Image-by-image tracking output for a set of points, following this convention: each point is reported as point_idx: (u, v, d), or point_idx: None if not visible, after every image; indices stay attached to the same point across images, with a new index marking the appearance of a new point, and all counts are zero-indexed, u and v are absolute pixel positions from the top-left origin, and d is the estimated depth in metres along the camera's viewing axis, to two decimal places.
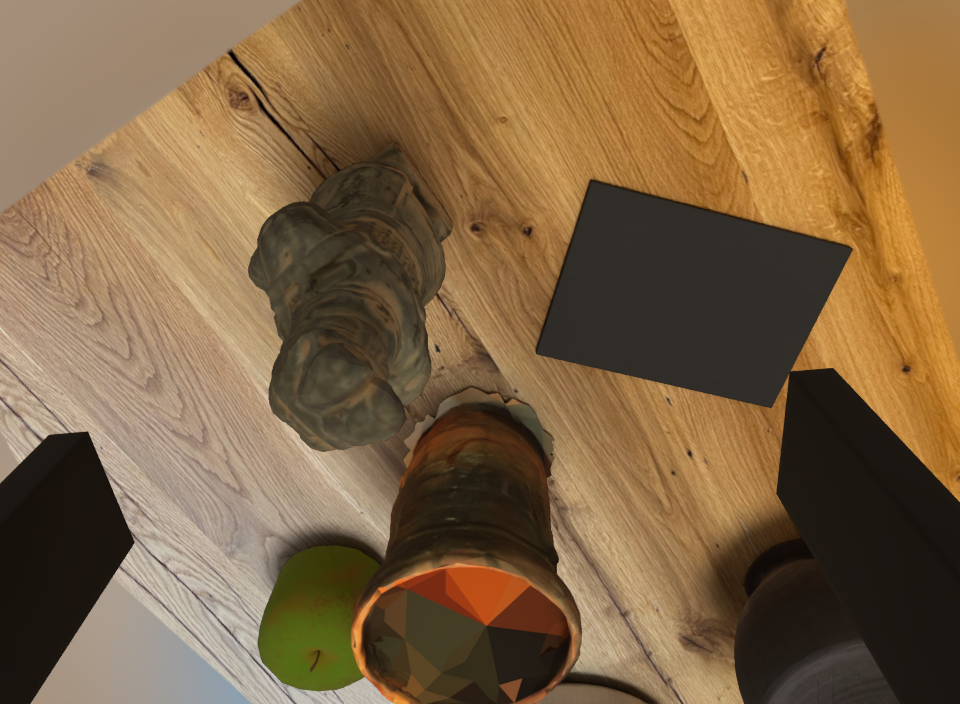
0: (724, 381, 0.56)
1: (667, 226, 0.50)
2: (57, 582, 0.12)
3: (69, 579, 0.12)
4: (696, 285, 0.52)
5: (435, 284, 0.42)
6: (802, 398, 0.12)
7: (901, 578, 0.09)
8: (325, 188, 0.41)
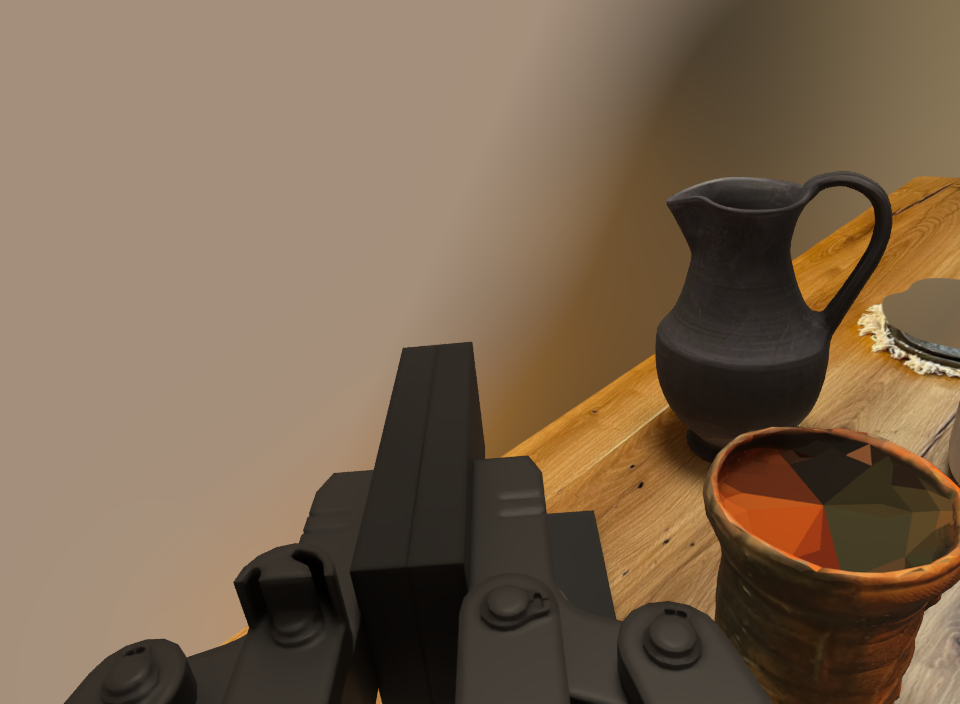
0: (585, 544, 0.66)
1: None
2: None
3: None
4: None
5: None
6: None
7: None
8: None
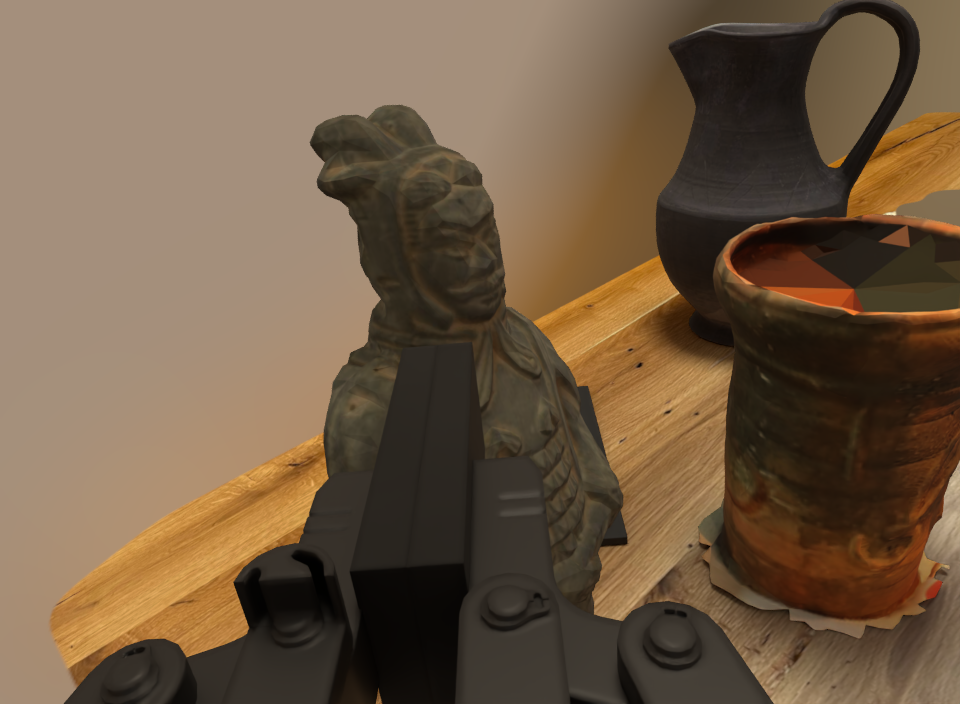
0: None
1: None
2: None
3: None
4: None
5: None
6: None
7: None
8: None
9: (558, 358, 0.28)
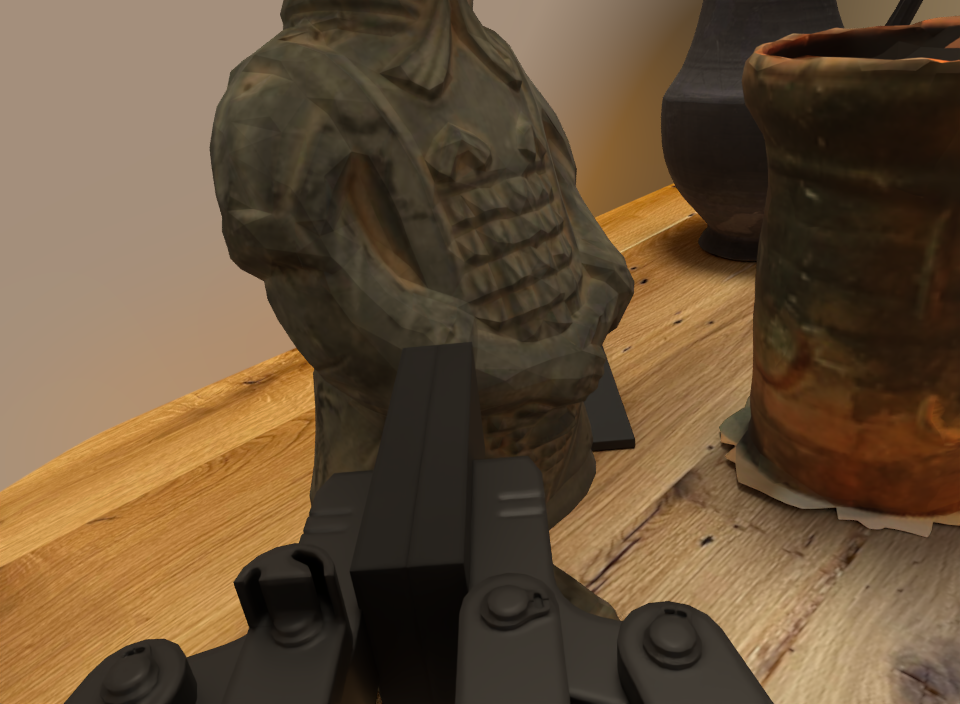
0: None
1: None
2: None
3: None
4: None
5: None
6: None
7: None
8: None
9: (546, 102, 0.21)
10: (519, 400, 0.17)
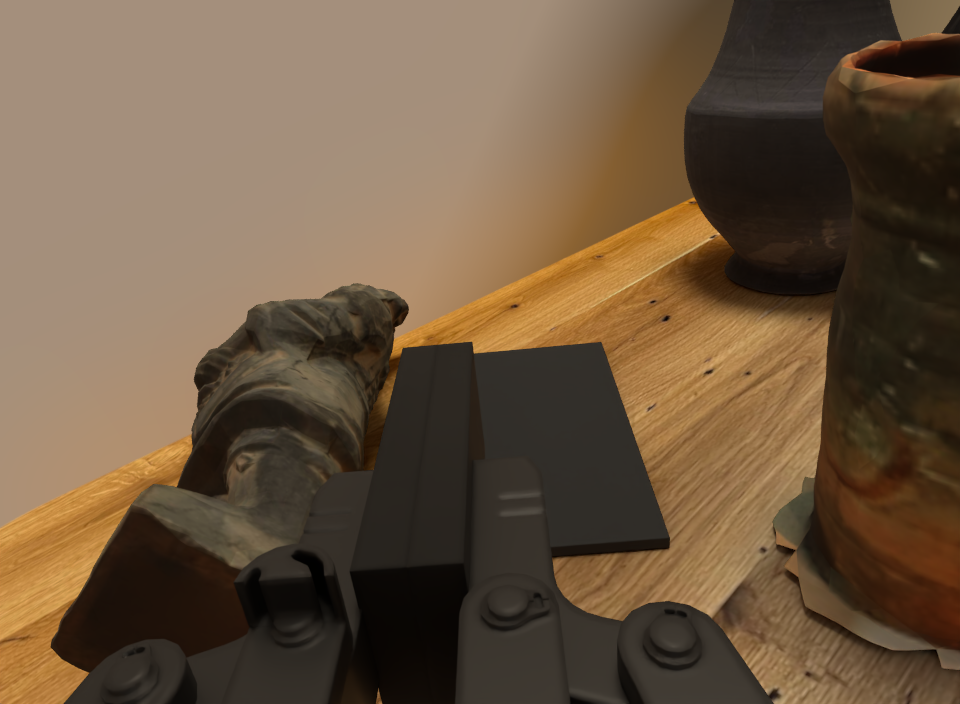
0: (590, 375, 0.45)
1: None
2: None
3: None
4: None
5: (360, 423, 0.32)
6: None
7: None
8: None
9: None
10: None
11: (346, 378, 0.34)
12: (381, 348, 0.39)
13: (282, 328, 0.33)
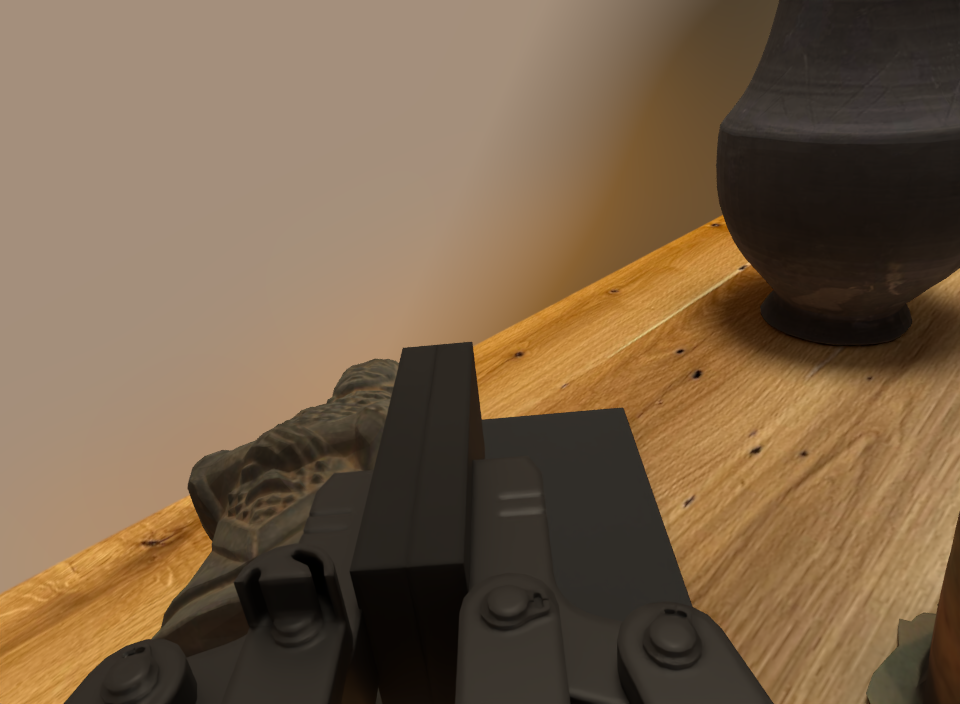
0: (613, 455, 0.37)
1: None
2: None
3: None
4: None
5: None
6: None
7: None
8: None
9: None
10: (234, 465, 0.26)
11: None
12: None
13: None
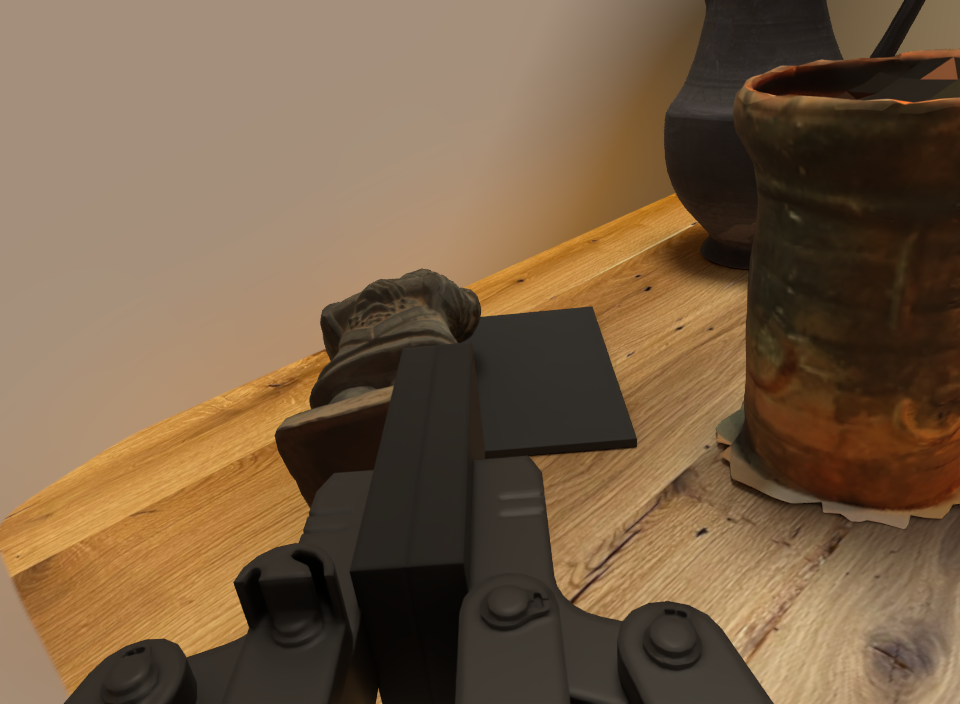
0: (582, 331, 0.55)
1: None
2: None
3: None
4: (492, 370, 0.51)
5: None
6: None
7: None
8: None
9: None
10: (351, 304, 0.44)
11: None
12: (461, 342, 0.50)
13: (448, 300, 0.44)
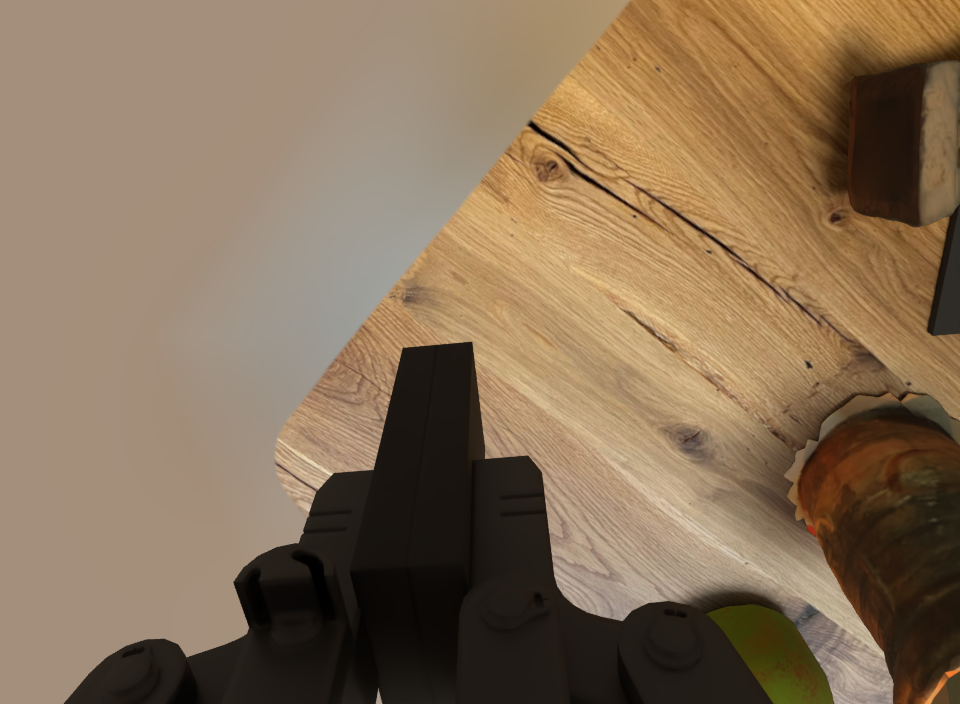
0: None
1: None
2: None
3: None
4: None
5: None
6: None
7: None
8: None
9: None
10: None
11: None
12: None
13: None
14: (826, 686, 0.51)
